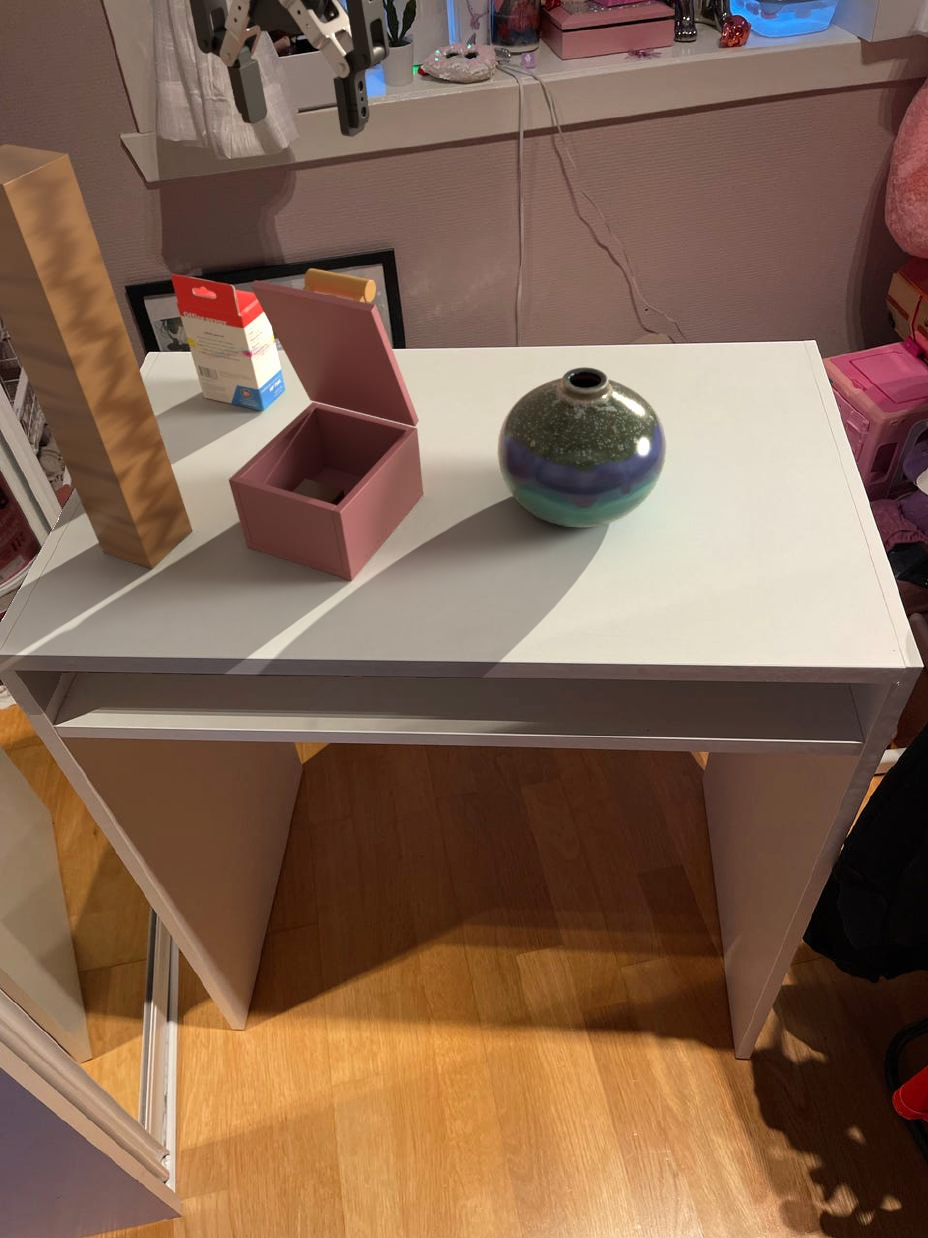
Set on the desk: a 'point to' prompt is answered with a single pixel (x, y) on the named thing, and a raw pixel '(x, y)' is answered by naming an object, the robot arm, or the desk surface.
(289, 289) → the lid
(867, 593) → the desk surface
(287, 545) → the chest
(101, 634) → the desk surface
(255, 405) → the ink box
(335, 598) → the desk surface
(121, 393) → the pedestal
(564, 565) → the desk surface
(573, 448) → the vase
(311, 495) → the block
